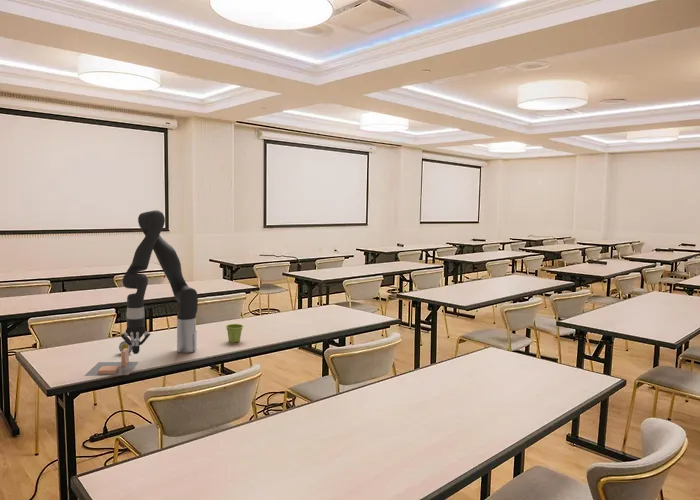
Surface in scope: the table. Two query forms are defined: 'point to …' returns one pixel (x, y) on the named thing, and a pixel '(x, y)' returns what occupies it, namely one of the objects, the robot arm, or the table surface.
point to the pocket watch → (124, 346)
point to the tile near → (108, 369)
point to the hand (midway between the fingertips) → (135, 353)
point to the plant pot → (234, 332)
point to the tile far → (125, 357)
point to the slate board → (121, 370)
